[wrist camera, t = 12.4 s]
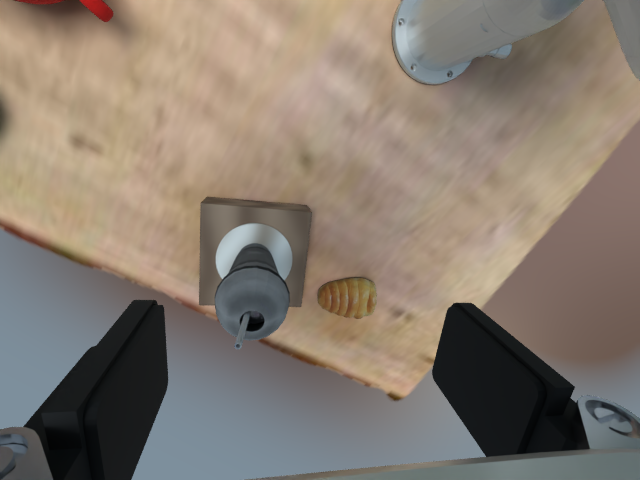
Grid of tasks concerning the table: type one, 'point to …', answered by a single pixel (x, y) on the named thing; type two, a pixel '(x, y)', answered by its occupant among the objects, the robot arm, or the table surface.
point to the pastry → (348, 297)
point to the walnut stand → (252, 241)
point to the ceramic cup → (92, 3)
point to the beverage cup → (252, 296)
